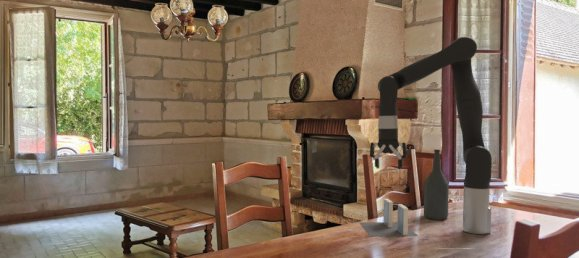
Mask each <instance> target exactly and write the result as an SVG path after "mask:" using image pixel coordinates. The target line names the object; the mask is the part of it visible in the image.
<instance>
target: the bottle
mask: <svg viewBox="0 0 579 258" xmlns="http://www.w3.org/2000/svg"><path fill="white" fill-rule="evenodd" d="M433 150H434V151H433V152H434V153H433V154H434V155H433V161H432V170H431V172H430V173H429V175H428V176H427V178H426V179H425V180H424V182H423V187H424V188H423V216H424V218H425V219H427V220H433V221H445V220H447V219H448V218H449V193H450V192H449V189H450V185H449V181H448V180H447V178H446V176H445V175H444V174H443V172H442V166H441V154H440V152H441V150H440V149H433Z"/></svg>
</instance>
